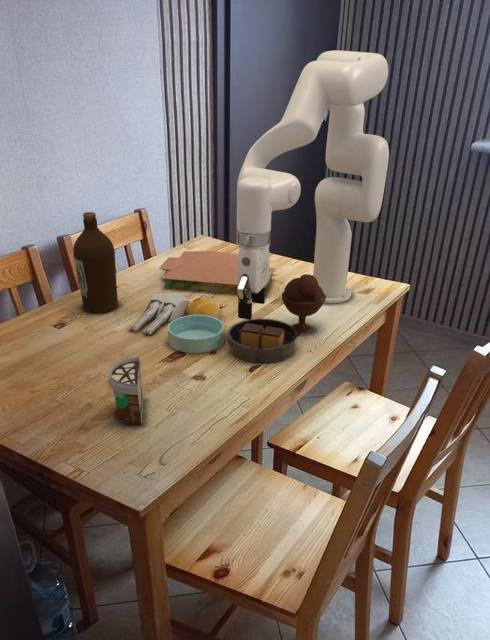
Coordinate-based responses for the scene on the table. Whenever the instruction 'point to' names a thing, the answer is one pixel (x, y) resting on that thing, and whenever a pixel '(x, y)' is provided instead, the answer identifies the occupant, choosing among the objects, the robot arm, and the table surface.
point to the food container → (127, 390)
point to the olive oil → (95, 267)
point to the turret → (161, 310)
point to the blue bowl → (195, 333)
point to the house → (204, 269)
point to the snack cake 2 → (272, 337)
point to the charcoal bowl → (259, 353)
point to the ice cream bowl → (303, 299)
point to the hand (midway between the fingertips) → (251, 310)
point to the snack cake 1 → (251, 335)
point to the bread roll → (204, 308)
